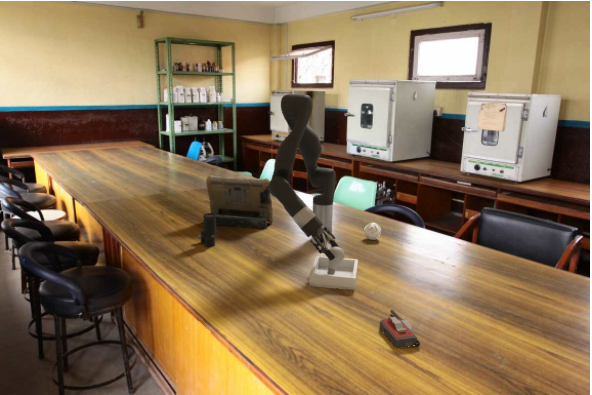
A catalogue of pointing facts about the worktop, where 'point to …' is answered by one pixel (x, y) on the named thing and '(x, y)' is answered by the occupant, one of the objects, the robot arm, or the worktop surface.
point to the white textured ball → (372, 231)
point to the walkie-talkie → (398, 331)
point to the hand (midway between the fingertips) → (336, 255)
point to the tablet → (240, 201)
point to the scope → (208, 230)
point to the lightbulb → (335, 259)
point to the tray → (340, 279)
